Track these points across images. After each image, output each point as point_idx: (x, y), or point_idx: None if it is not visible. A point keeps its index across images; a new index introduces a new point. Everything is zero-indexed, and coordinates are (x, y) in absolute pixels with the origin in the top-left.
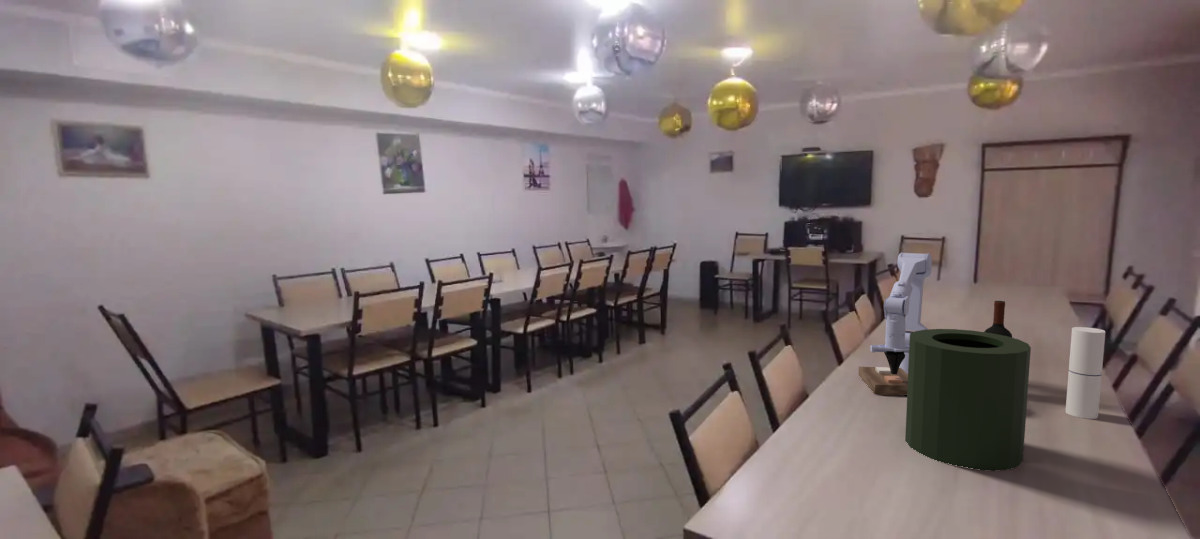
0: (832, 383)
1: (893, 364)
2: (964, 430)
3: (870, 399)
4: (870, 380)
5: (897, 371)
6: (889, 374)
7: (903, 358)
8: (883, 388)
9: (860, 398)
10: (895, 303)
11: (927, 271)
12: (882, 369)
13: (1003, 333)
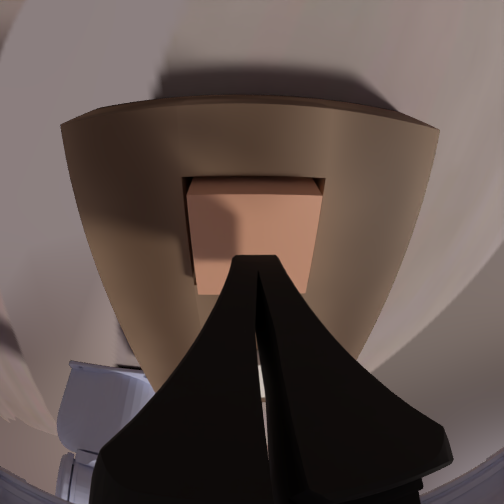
0: (473, 270)
1: (302, 337)
2: None
3: (446, 41)
4: (406, 237)
5: (230, 272)
6: None
7: (130, 436)
8: (371, 112)
9: (481, 67)
10: None
11: None
12: (261, 378)
13: None
